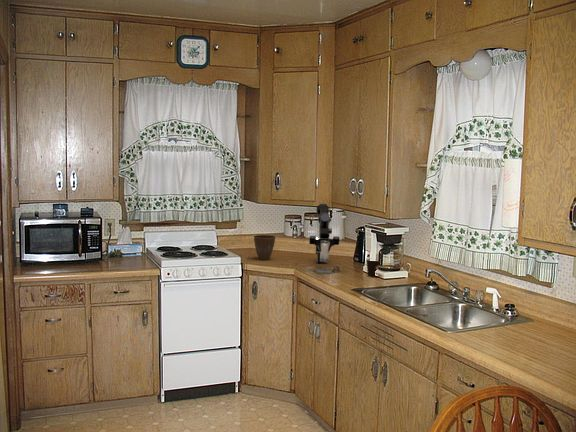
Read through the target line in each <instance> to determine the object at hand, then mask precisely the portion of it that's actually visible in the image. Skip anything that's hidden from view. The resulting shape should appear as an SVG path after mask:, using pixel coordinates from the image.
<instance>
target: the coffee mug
mask: <svg viewBox="0 0 576 432" xmlns="http://www.w3.org/2000/svg"><path fill="white" fill-rule="evenodd" d="M370 259H371V258H367V259H366V268H367V277H369V276H371V277H372V278H375V277H374V276H375V271H376V270H377V269H378V267H379V263H380V264H381V262H380V261H370ZM371 277H370V278H371Z"/></svg>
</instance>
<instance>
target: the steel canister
mask: <svg viewBox="0 0 576 432" xmlns="http://www.w3.org/2000/svg"><path fill="white" fill-rule="evenodd" d="M320 242H321V245H320V262H327V263H329V256H330V251H329V244H330V242H329V240H320Z"/></svg>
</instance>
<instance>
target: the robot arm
mask: <svg viewBox="0 0 576 432" xmlns="http://www.w3.org/2000/svg"><path fill="white" fill-rule="evenodd" d="M315 209H316V216H317V221H318V223H319V225H318V226H319V227H318V228H319V230H318V231H319V235H318V236H319V237H318V236H316V235H310V236H309V243H308V244H310V245H314V246H315V254H316V255H317V257H316V260H315V262H316V263H317V264H327V263H328V262H320V245H321V242H320V240H329V252H331V251H330V250H331V248H332V247H333V246H339V245H340V241H341V239H340V238H341V237H340V236H338V235H337V236H332V238H330V234H331V235H332V233H333V229H332V227H330V226H329V225H330V223H331V222H332V218H331V216H330V215H329V214H330V206H329V205H328V203H319V204H318V205H316V208H315Z"/></svg>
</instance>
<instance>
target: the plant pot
mask: <svg viewBox="0 0 576 432" xmlns="http://www.w3.org/2000/svg"><path fill="white" fill-rule="evenodd" d="M253 242H254V247H255V251H256V255H257V258H258V260H260V261H269V260H270V258H271V256H272V254H273V251H274V246H275V242H276V236H275V235H270V234H258V235H257V234H256V235H254V236H253Z"/></svg>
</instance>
